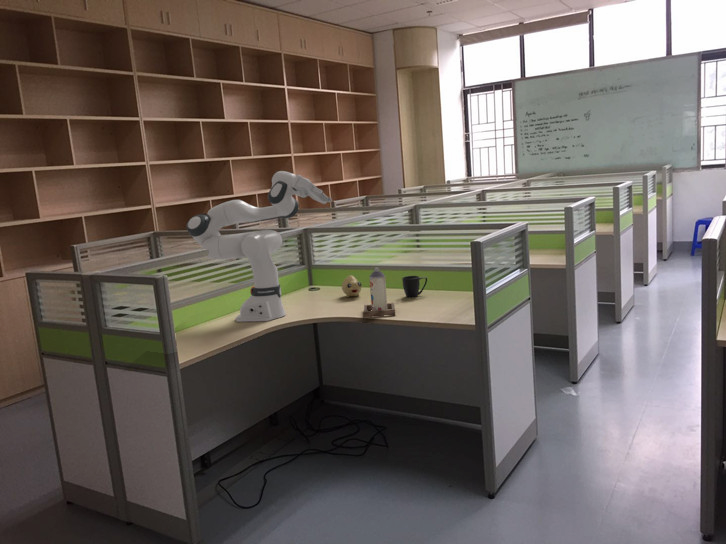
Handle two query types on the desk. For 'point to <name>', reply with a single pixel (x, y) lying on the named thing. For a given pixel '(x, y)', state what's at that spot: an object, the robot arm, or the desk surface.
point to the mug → (412, 286)
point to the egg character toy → (351, 286)
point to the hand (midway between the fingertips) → (326, 196)
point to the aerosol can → (378, 290)
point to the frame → (379, 311)
